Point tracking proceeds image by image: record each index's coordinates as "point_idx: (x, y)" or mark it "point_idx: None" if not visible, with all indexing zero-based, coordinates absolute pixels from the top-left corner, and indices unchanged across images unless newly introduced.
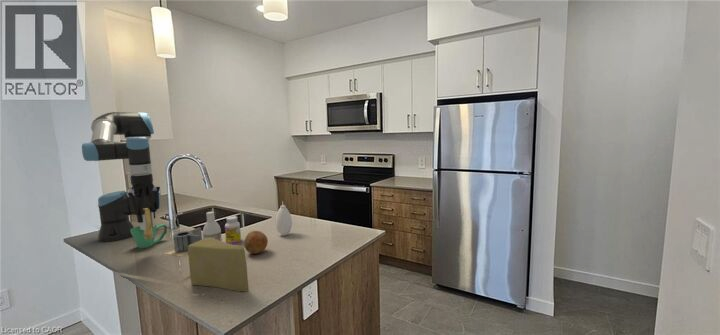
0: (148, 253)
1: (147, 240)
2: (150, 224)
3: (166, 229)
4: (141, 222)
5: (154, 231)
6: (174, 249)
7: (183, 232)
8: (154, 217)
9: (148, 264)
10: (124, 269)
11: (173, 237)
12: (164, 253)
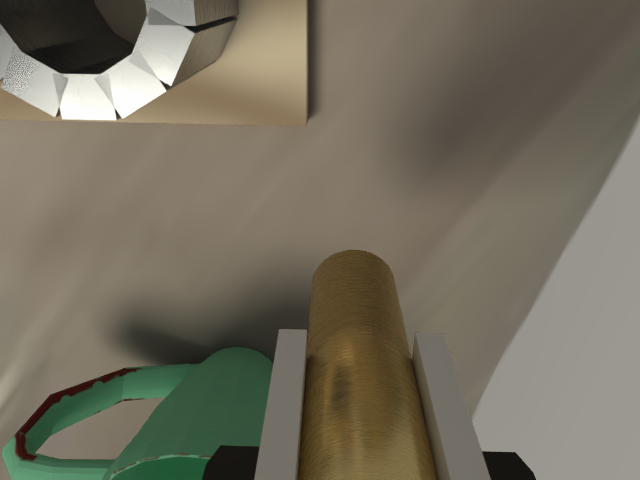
0: (305, 279)
1: (247, 386)
2: (352, 365)
3: (34, 414)
4: (499, 453)
5: (161, 425)
6: (200, 90)
7: (22, 53)
8: (227, 463)
9: (487, 66)
10: (598, 175)
11: (182, 73)
12: (305, 96)
